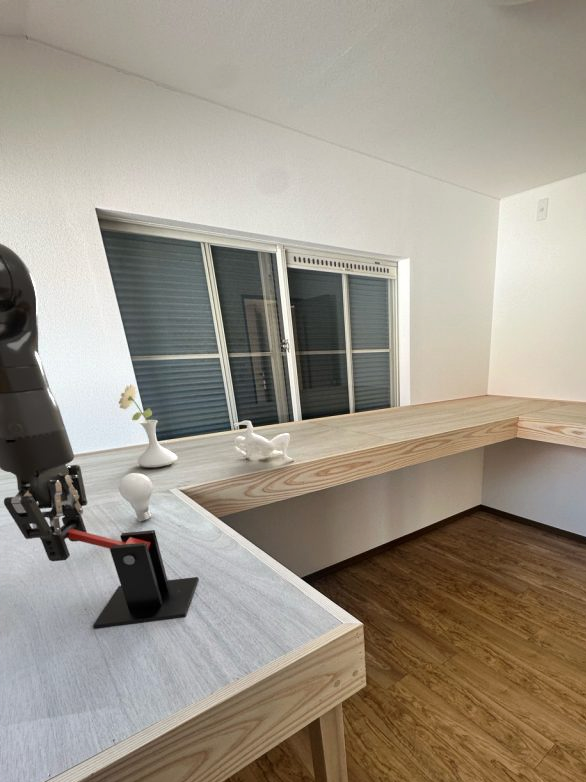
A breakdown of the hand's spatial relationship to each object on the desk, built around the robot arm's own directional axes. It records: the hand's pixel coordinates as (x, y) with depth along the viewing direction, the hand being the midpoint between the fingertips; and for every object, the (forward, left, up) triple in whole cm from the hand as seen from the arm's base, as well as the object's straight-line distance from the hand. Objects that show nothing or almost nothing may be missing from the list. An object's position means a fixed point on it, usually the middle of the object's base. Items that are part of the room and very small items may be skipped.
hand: (70, 548), depth 58 cm
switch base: (+8, 0, -11) cm, 14 cm away
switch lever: (+4, 0, -1) cm, 4 cm away
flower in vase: (-12, +79, -11) cm, 81 cm away
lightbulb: (-3, +35, -11) cm, 37 cm away
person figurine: (+21, +78, -11) cm, 82 cm away
